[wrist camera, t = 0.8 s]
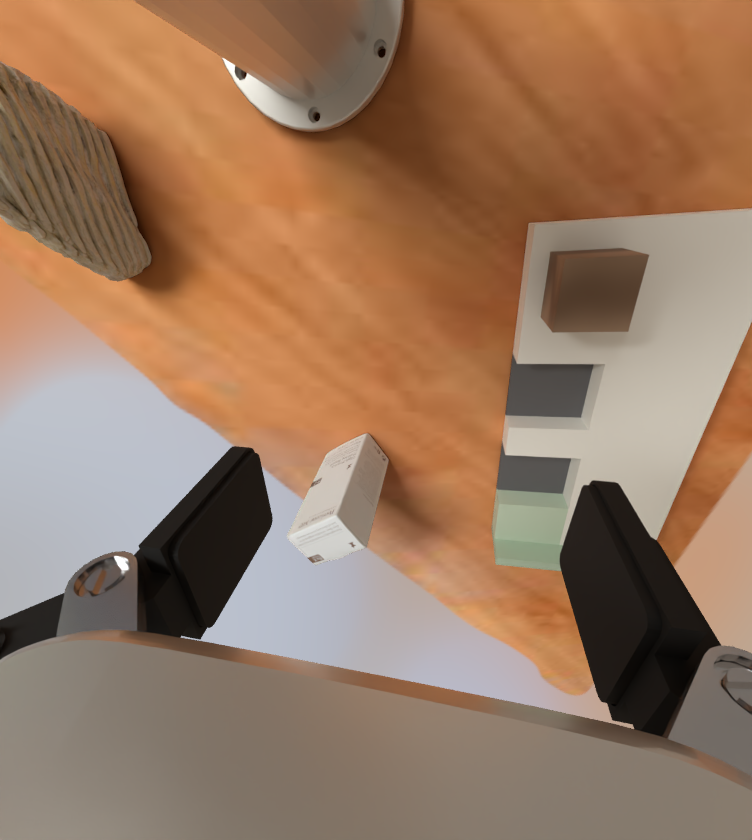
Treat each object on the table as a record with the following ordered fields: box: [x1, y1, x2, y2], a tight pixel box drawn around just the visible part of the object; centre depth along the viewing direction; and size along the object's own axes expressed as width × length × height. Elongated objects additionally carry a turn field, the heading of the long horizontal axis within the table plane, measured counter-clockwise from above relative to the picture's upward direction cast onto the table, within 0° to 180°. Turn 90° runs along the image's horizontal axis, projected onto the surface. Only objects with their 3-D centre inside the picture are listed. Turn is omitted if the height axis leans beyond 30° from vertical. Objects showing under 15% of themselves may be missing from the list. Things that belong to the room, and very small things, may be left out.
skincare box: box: [287, 433, 389, 565], centre depth 36 cm, size 6×4×12 cm
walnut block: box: [541, 248, 649, 333], centre depth 24 cm, size 4×4×4 cm
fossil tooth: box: [0, 61, 152, 281], centre depth 27 cm, size 12×6×15 cm
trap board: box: [492, 208, 752, 571], centre depth 31 cm, size 31×15×5 cm, turn 4°
